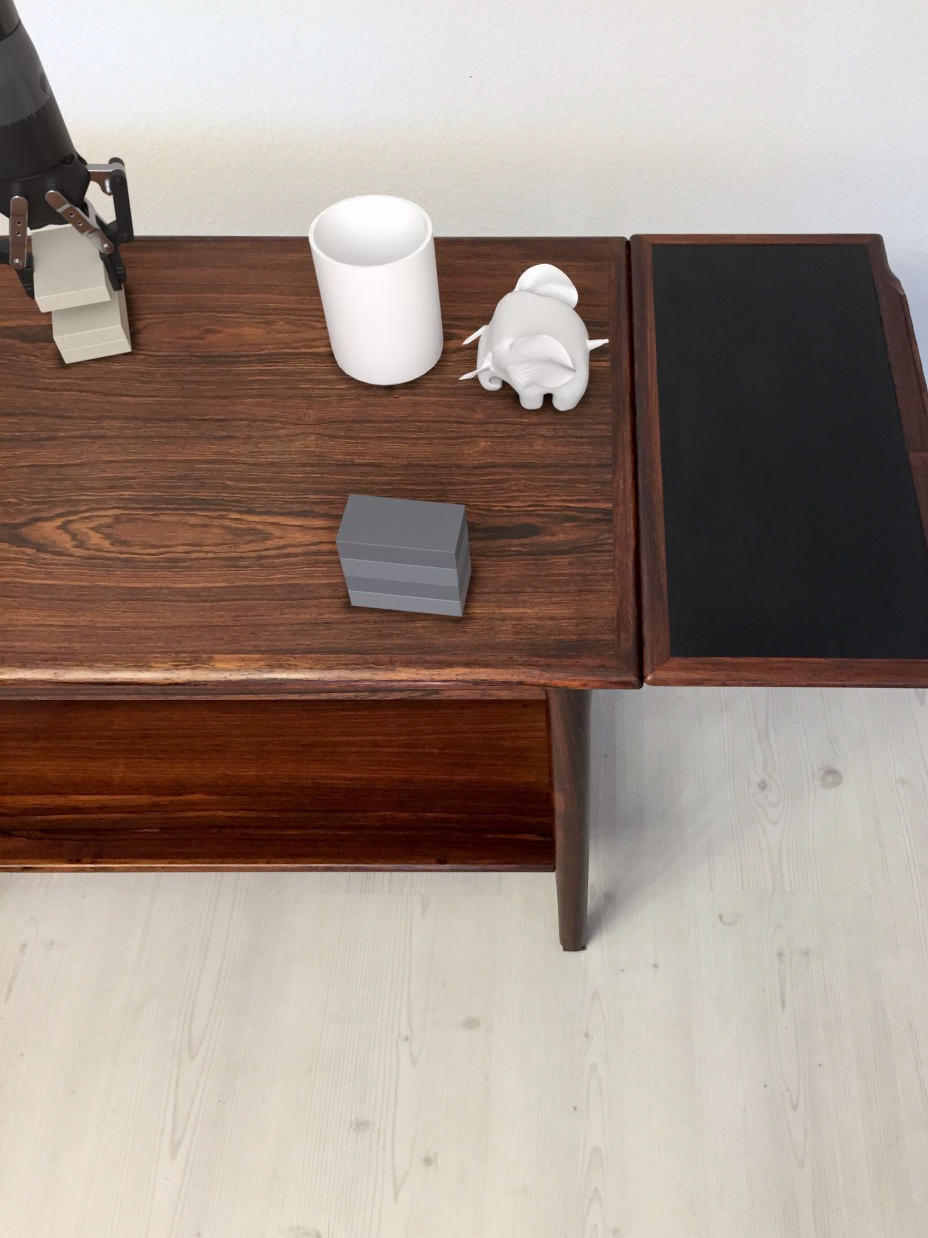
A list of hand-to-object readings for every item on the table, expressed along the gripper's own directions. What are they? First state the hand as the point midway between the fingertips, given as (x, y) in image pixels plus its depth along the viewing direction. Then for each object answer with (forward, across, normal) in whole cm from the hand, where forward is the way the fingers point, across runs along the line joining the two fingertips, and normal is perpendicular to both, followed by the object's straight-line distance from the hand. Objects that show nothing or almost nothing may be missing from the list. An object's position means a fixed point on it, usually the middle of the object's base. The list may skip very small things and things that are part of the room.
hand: (81, 291), depth 90 cm
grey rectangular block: (+3, -20, +36) cm, 42 cm away
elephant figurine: (+4, -34, +19) cm, 39 cm away
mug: (+4, -24, +10) cm, 26 cm away
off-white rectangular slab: (-2, 0, 0) cm, 2 cm away
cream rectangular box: (+3, 0, 0) cm, 3 cm away
